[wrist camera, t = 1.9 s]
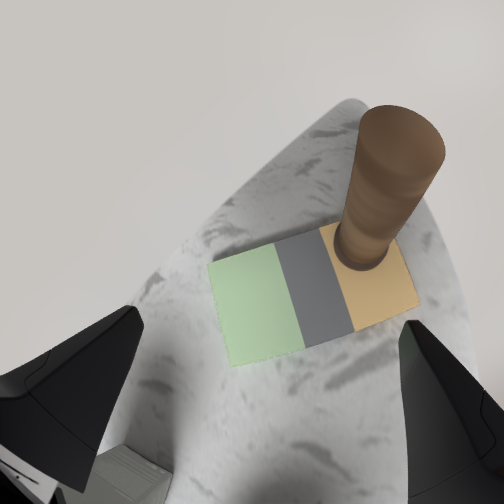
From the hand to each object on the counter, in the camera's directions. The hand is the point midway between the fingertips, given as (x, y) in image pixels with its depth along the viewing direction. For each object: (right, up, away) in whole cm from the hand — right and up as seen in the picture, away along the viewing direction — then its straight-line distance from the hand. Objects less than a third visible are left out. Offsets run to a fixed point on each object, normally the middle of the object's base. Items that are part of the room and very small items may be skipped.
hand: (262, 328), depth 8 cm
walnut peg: (+9, +3, +13) cm, 16 cm away
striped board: (+5, -1, +14) cm, 15 cm away
